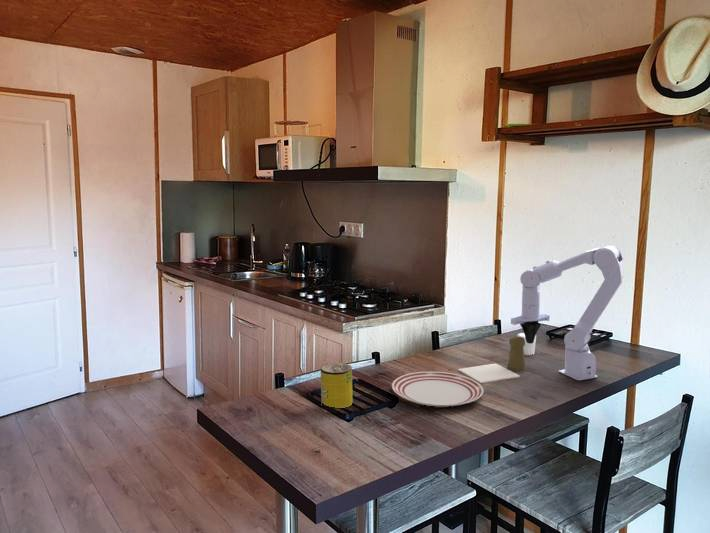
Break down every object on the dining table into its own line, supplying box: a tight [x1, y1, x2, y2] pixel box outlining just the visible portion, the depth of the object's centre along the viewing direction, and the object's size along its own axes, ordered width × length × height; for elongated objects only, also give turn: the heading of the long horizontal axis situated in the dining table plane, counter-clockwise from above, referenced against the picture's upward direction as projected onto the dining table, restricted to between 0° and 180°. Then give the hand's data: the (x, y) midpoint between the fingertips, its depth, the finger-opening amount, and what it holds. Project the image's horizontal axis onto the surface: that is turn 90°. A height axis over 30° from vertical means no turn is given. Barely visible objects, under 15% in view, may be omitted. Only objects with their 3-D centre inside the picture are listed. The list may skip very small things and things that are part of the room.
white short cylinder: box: [517, 332, 537, 356], centre depth 206 cm, size 7×7×7 cm
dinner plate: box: [391, 371, 484, 408], centre depth 166 cm, size 28×27×3 cm
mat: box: [457, 363, 521, 385], centre depth 184 cm, size 14×15×1 cm
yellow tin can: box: [320, 362, 354, 408], centre depth 158 cm, size 9×9×12 cm
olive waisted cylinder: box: [507, 336, 527, 372], centre depth 189 cm, size 6×6×11 cm
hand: (529, 342), depth 190 cm, fingers closed
